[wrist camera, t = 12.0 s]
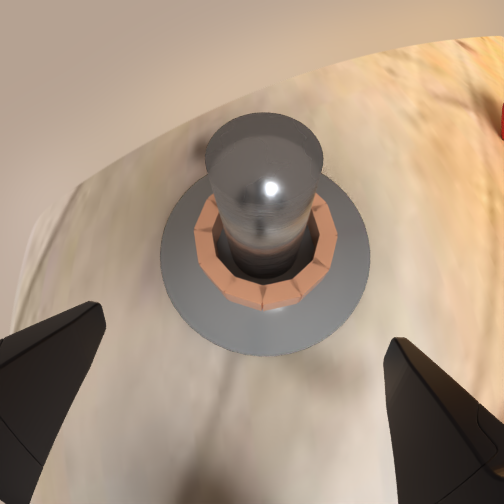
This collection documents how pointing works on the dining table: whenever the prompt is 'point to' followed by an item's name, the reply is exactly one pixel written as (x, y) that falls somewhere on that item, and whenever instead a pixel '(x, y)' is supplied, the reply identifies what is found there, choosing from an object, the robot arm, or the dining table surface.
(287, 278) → the slate seat plate
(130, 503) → the dining table surface
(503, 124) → the strawberry
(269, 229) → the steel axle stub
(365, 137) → the dining table surface
